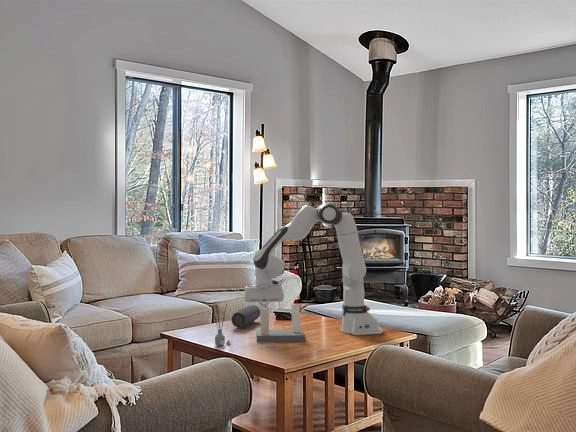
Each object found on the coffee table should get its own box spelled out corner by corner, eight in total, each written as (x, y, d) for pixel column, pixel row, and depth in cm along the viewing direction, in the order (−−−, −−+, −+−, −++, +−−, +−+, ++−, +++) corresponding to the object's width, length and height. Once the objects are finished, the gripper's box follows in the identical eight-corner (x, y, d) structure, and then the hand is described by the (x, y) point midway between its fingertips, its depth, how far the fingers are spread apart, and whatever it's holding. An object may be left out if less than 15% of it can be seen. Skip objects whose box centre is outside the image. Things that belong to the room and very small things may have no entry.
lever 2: (299, 331, 309) (299, 304, 313) (300, 330, 307) (299, 303, 312) (292, 331, 309) (291, 304, 313) (292, 330, 307) (291, 303, 311)
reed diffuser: (214, 348, 288) (214, 306, 287) (207, 345, 294) (207, 304, 293) (232, 344, 294) (232, 303, 294) (225, 342, 300) (225, 301, 299)
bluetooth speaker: (246, 330, 325) (246, 312, 324) (230, 329, 328) (230, 310, 327) (261, 321, 346) (261, 304, 346) (246, 320, 349) (246, 303, 349)
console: (302, 335, 314) (302, 329, 314) (305, 341, 302) (305, 335, 302) (256, 336, 312) (256, 330, 312) (257, 341, 300) (257, 335, 300)
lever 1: (268, 330, 307) (269, 307, 302) (268, 332, 306) (269, 308, 300) (260, 330, 307) (261, 307, 301) (260, 332, 305) (261, 309, 300)
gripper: (244, 282, 317) (244, 304, 308) (283, 281, 319) (284, 303, 309) (244, 289, 322) (244, 311, 312) (282, 289, 323) (283, 310, 314)
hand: (264, 307), depth 311 cm, fingers closed
